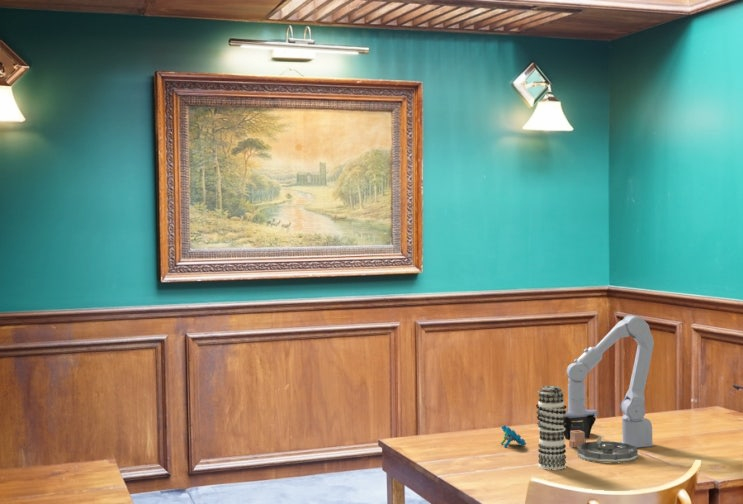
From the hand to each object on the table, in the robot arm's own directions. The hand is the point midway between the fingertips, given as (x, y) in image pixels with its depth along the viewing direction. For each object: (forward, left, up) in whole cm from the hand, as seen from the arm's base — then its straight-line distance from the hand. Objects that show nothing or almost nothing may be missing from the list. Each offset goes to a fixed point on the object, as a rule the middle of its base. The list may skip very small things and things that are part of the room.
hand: (577, 438), depth 320 cm
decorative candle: (+21, +22, -3) cm, 31 cm away
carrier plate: (-2, +16, -3) cm, 16 cm away
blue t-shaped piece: (+20, -8, -3) cm, 22 cm away
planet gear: (0, 0, -3) cm, 3 cm away
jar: (-8, -18, -3) cm, 20 cm away
